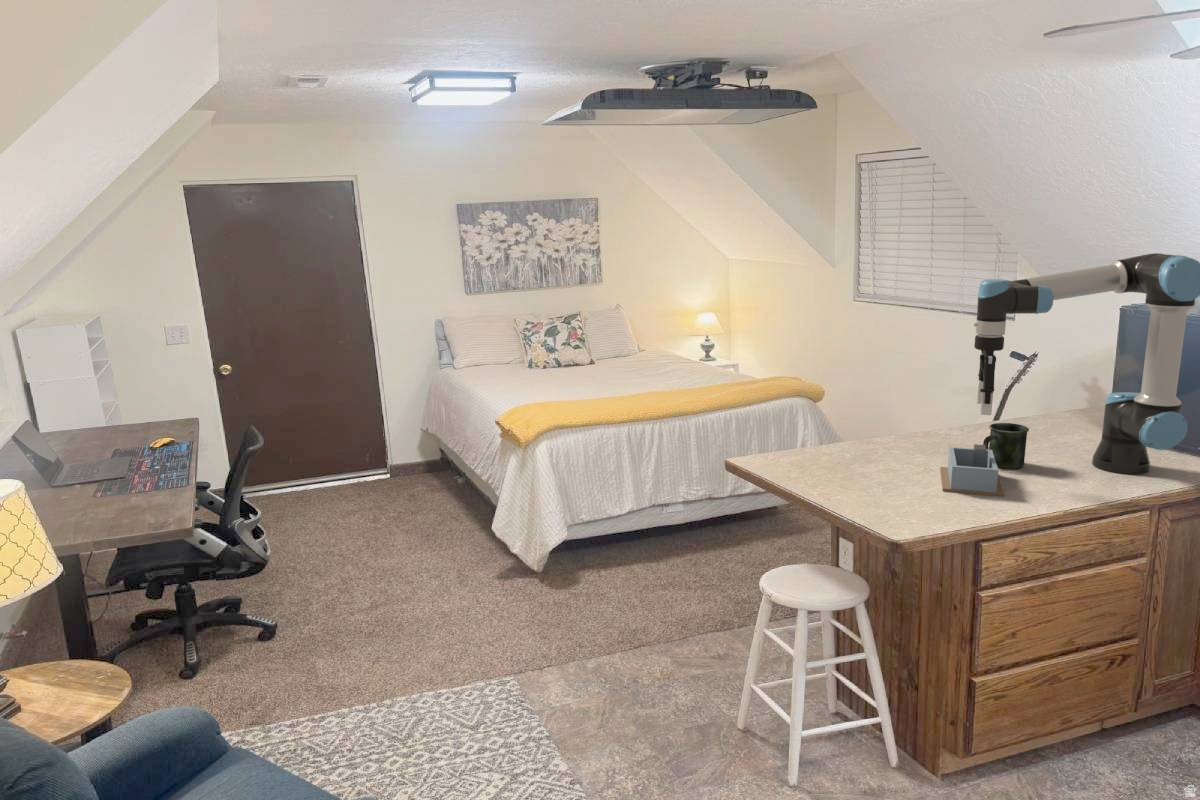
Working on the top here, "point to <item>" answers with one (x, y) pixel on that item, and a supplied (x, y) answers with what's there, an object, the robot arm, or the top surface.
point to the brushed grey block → (979, 456)
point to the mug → (1007, 444)
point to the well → (970, 474)
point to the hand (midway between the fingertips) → (983, 409)
